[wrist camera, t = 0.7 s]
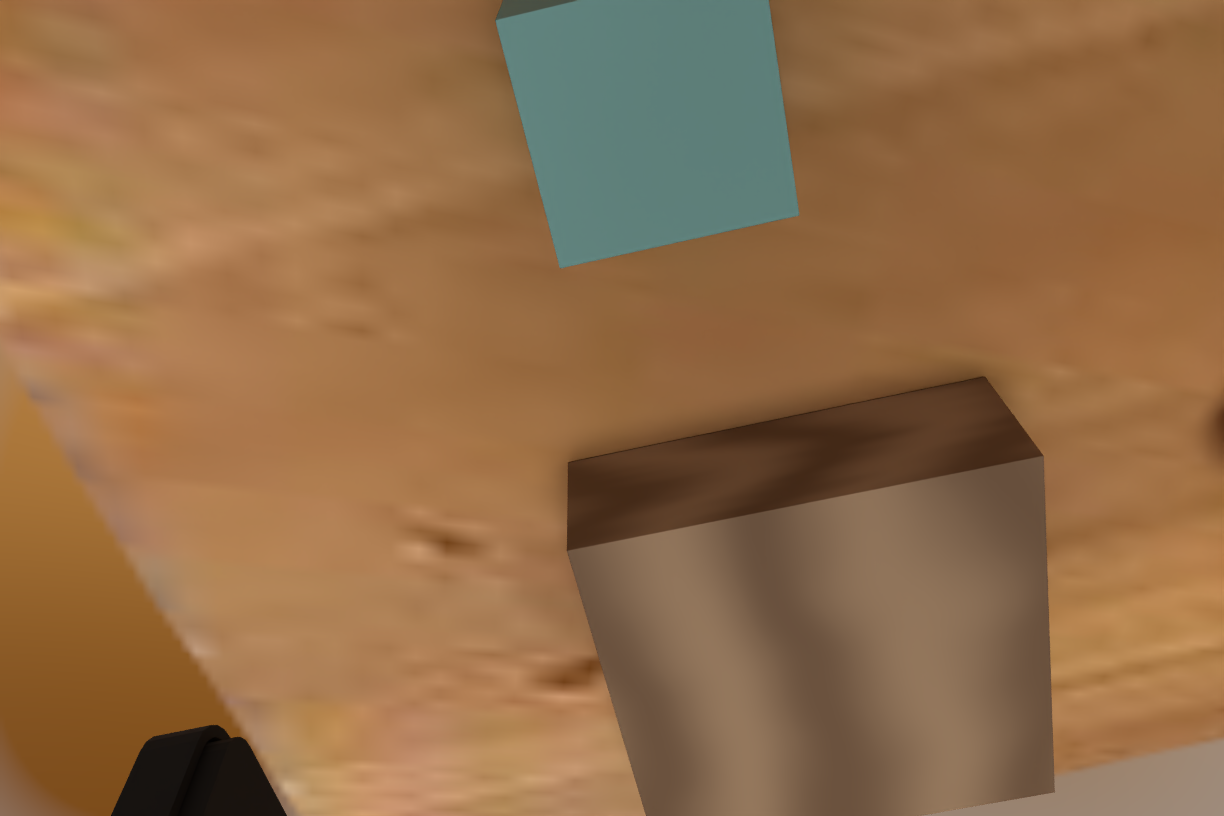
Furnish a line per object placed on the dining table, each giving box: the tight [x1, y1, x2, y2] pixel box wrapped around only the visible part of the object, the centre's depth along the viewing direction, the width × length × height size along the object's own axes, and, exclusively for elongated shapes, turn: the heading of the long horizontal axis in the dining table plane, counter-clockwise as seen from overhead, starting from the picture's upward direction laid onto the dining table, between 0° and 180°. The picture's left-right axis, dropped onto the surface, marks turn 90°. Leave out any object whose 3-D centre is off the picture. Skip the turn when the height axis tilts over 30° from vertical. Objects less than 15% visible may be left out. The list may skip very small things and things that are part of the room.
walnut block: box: [567, 377, 1055, 816], centre depth 37 cm, size 14×14×5 cm
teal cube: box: [495, 0, 799, 268], centre depth 28 cm, size 6×6×6 cm
